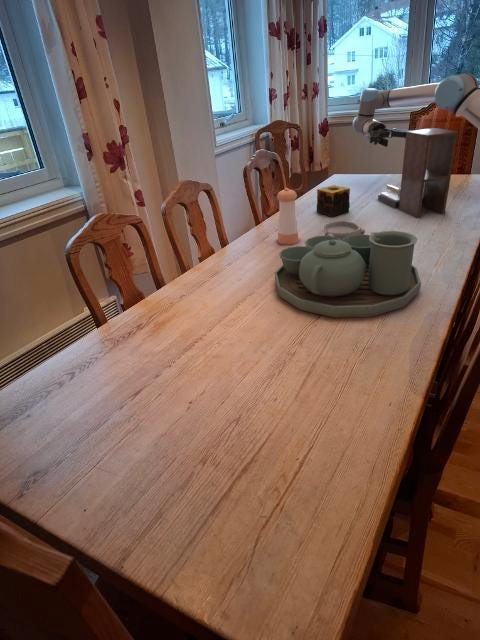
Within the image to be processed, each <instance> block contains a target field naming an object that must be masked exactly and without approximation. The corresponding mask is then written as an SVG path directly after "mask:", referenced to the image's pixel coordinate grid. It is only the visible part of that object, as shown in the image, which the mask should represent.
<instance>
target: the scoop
mask: <svg viewBox="0 0 480 640" xmlns="http://www.w3.org/2000/svg"><path fill="white" fill-rule="evenodd" d="M386 189H387V190H388V191H393V192H396V193H398V197H400V190H401V187H397V186H394V185H392V184H386Z"/></svg>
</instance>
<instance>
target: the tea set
mask: <svg viewBox="0 0 480 640" xmlns="http://www.w3.org/2000/svg"><path fill="white" fill-rule="evenodd" d="M417 242H418V237H417V236H415V234H412V233H409V232H406V231H398V230H387V231H386V230H382V231H377V232H375V231H374V232H370V234H364V235H352V236H349V237H344V238H343V241H342V240H340V239H339V238H337V237H332V236H323V235H318V236H312V237H310V238H307V239H306V240H305V242H304V244H305V246H303V245H302V246H301V245H297V246H290V247H287V248H284V249H282V250H281V251H280V252H279V254H278V255H279V258H280V260H281V262H282V264H281V266H280V267H279V268H278V269H277V270H276V271H275V272H274V280H275V284H276V291H277V294H278V296H279V297H280V298H281V299H282V300H285V302H287V303H289V304H290V305H292V306H294V307H295V308H297V309H298V310H300V311H304V312H308V313H314V314H318V315H321V316H322V315H323V316H327V317H331V318H355V317H356V318H359V317H360V318H361V317H363V318H364V317H365V318H366V317H375V316H378V315H381V314H385V313H388V312H391V311H394V310H398V309H401V308H404V307H406V305H407V304H408V303H409V302H410V301H411V300H412V299H414V297H415V296H416V295H417V294H418V293H419V292H420V290H421V286H422V282H421V278H420V275H419V271H418V268H417V267H416V266H414V265H413V258H414V250H415V245H416V244H417Z"/></svg>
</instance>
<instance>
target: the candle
mask: <svg viewBox="0 0 480 640" xmlns="http://www.w3.org/2000/svg"><path fill="white" fill-rule="evenodd" d="M350 194H351V188H350V187H345V186H341V185H336V184H332V185H328V186H325V187H321V188H317V189H316V213H317V214H321V215H324V216H328V217H331V218H333V217H337V216H340V215H343V214H346V213H349V212H350V208H351V207H350V206H351V204H350Z"/></svg>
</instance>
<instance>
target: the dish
mask: <svg viewBox="0 0 480 640" xmlns="http://www.w3.org/2000/svg"><path fill="white" fill-rule="evenodd" d="M365 233H366V229H365V228H362V226H361V225H359V224H358V223H356V222H354V221H349V220H335V221H334V220H333V221H330V222H327V223H325V224H324V226H323V235H322V236H332V237H337V238H339V239H340V240H342V241H343V238H344V237H349V236H352V235H365Z"/></svg>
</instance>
